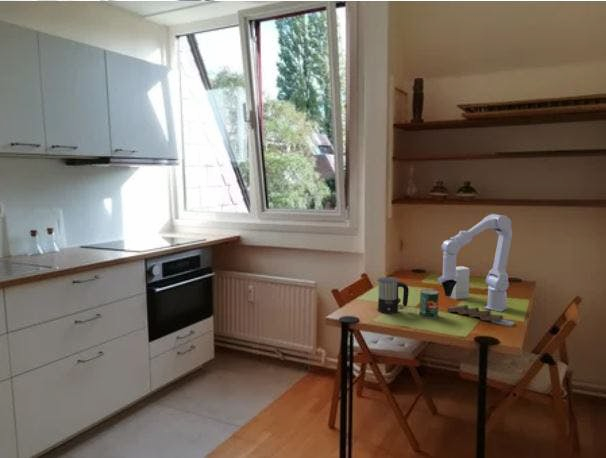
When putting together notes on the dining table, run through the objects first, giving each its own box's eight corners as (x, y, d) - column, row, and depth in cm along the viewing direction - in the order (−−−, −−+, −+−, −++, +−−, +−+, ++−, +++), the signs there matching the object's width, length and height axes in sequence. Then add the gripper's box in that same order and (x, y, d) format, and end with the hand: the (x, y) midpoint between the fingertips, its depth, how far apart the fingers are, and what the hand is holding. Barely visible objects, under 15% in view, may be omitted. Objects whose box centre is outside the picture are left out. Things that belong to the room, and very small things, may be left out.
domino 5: (495, 318, 195) (514, 322, 189) (495, 321, 195) (514, 326, 189) (491, 320, 192) (510, 324, 186) (491, 323, 192) (510, 328, 186)
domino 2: (461, 309, 205) (478, 307, 199) (462, 312, 205) (479, 310, 199) (457, 311, 202) (474, 309, 197) (458, 314, 202) (475, 312, 196)
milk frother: (381, 314, 202) (382, 282, 200) (368, 304, 217) (369, 274, 215) (411, 312, 205) (412, 280, 203) (395, 302, 220) (396, 273, 218)
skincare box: (460, 295, 235) (462, 265, 233) (469, 298, 228) (470, 268, 227) (447, 296, 232) (448, 266, 230) (455, 299, 226) (456, 269, 224)
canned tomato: (423, 311, 206) (424, 288, 204) (440, 315, 201) (441, 291, 199) (416, 316, 200) (417, 291, 198) (433, 319, 195) (434, 294, 193)
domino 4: (485, 314, 197) (502, 315, 191) (485, 317, 197) (503, 319, 191) (480, 316, 195) (497, 317, 188) (480, 319, 195) (498, 321, 188)
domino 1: (451, 306, 209) (467, 304, 203) (452, 310, 208) (468, 308, 203) (447, 308, 206) (463, 306, 200) (447, 312, 206) (464, 310, 200)
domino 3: (473, 311, 201) (490, 310, 195) (474, 315, 201) (491, 313, 195) (468, 313, 199) (485, 311, 193) (469, 317, 199) (486, 315, 193)
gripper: (447, 270, 198) (446, 300, 199) (466, 266, 207) (464, 295, 208) (434, 267, 203) (432, 297, 205) (452, 263, 212) (451, 292, 214)
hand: (448, 296), depth 207 cm, fingers closed
